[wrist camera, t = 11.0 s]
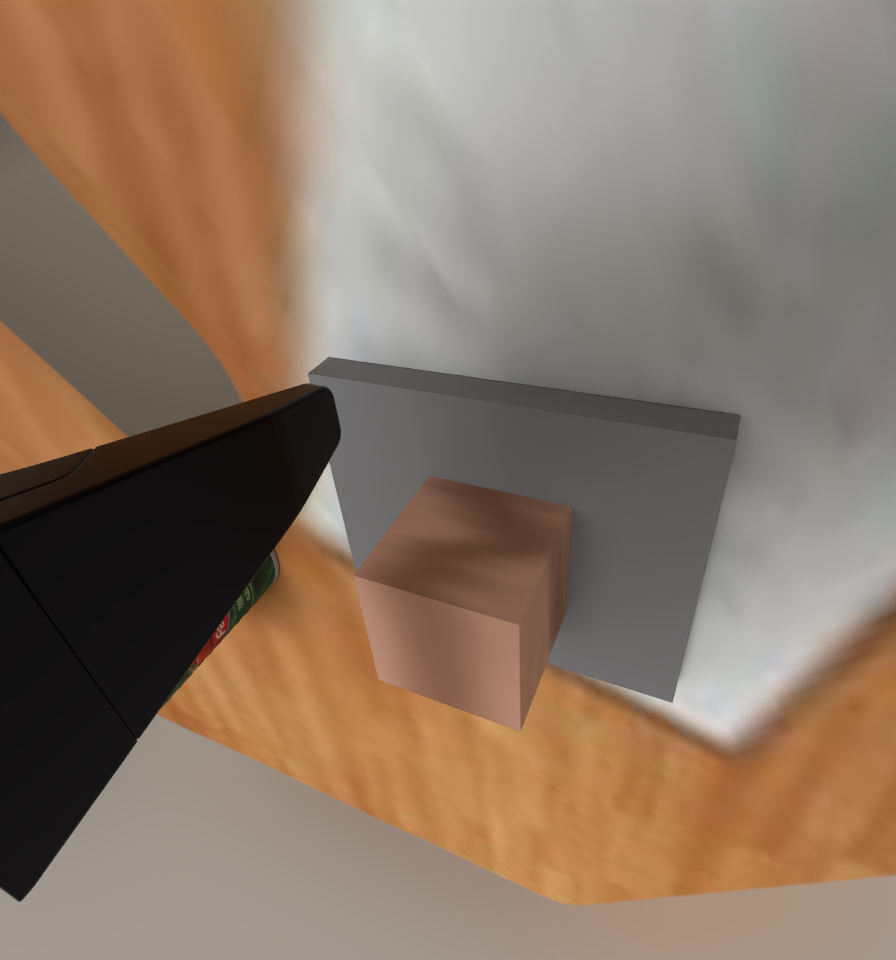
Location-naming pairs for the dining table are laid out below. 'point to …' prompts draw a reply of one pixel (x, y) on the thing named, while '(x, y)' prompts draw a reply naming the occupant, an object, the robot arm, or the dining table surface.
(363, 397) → the charcoal board
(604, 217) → the dining table surface
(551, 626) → the terracotta cube
